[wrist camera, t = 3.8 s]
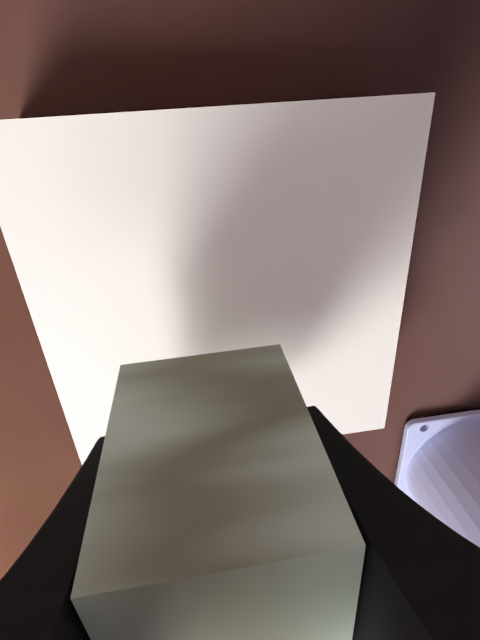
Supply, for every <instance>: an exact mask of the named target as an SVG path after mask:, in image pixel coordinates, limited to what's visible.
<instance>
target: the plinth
mask: <svg viewBox="0 0 480 640" xmlns="http://www.w3.org/2000/svg"><path fill="white" fill-rule="evenodd" d="M434 98H435V92H433V93H417V94H401V95H385V96H369V97H353V98H337V99H321V100H305V101H290V102H274V103H258V104H242V105H227V106H211V107H195V108H179V109H163V110H148V111H132V112H116V113H100V114H84V115H69V116H53V117H37V118H21V119H6V120H0V226H1V229H2V232H3V235H4V238H5V241H6V244H7V247H8V250H9V253H10V256H11V258H12V261H13V264H14V267H15V270H16V273H17V276H18V279H19V282H20V285H21V288H22V291H23V294H24V297H25V300H26V302H27V305H28V308H29V311H30V314H31V317H32V320H33V323H34V326H35V329H36V332H37V335H38V338H39V341H40V343H41V346H42V349H43V352H44V355H45V358H46V361H47V364H48V367H49V370H50V373H51V376H52V379H53V382H54V384H55V387H56V390H57V393H58V396H59V399H60V402H61V405H62V408H63V411H64V414H65V417H66V420H67V423H68V425H69V428H70V431H71V434H72V437H73V440H74V443H75V446H76V449H77V452H78V455H79V458H80V461H81V464H82V465H83V463H84V462H85V460H86V458H87V457H88V455H89V453H90V452H91V450H92V448H93V447H94V445H95V443H96V442H97V440H98V439H99V438H100V437H103V436H105V435H106V430H107V425H108V421H109V416H110V411H111V407H112V402H113V397H114V393H115V388H116V383H117V379H118V374H119V369H120V365H124V364H131V363H139V362H147V361H154V360H162V359H170V358H178V357H185V356H193V355H201V354H208V353H216V352H224V351H231V350H239V349H247V348H254V347H262V346H270V345H277V344H280V346H281V348H282V350H283V353H284V355H285V357H286V360H287V362H288V364H289V367H290V369H291V371H292V374H293V376H294V378H295V381H296V383H297V385H298V388H299V390H300V392H301V395H302V397H303V399H304V402H305V404H306V406H307V407H308V406H316V407H317V408H318V409H319V410H320V411H321V412H322V413H323V415H324V416H325V417H326V418H327V419H328V420H329V421H330V422H331V423H332V425H333V426H334V427H335V428H336V429H337V430H338V431H339V432H340V433H341V434H348V433H354V432H361V431H368V430H375V429H382V428H384V427H385V420H386V414H387V407H388V401H389V394H390V387H391V381H392V374H393V368H394V361H395V355H396V348H397V341H398V335H399V328H400V322H401V315H402V309H403V302H404V295H405V289H406V282H407V276H408V269H409V263H410V256H411V249H412V243H413V236H414V230H415V223H416V217H417V210H418V203H419V197H420V190H421V184H422V177H423V171H424V164H425V157H426V151H427V144H428V138H429V131H430V124H431V118H432V111H433V105H434Z"/></svg>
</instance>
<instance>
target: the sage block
mask: <svg viewBox="0 0 480 640" xmlns="http://www.w3.org/2000/svg"><path fill="white" fill-rule="evenodd" d="M365 548H366V545H365V542H364V540H363V538H362V535H361V533H360V531H359V528H358V526H357V524H356V521H355V519H354V517H353V514H352V512H351V510H350V507H349V505H348V503H347V500H346V498H345V496H344V493H343V491H342V489H341V486H340V484H339V481H338V479H337V477H336V474H335V472H334V470H333V467H332V465H331V463H330V460H329V458H328V456H327V453H326V451H325V449H324V446H323V444H322V442H321V439H320V437H319V435H318V432H317V430H316V428H315V425H314V423H313V421H312V418H311V416H310V414H309V411H308V409H307V406H306V404H305V402H304V399H303V397H302V395H301V392H300V390H299V388H298V385H297V383H296V381H295V378H294V376H293V374H292V371H291V369H290V367H289V364H288V362H287V360H286V357H285V355H284V353H283V350H282V348H281V346H280V344H277V345H270V346H262V347H254V348H247V349H239V350H231V351H224V352H216V353H208V354H201V355H193V356H185V357H178V358H170V359H162V360H154V361H147V362H139V363H131V364H124V365H120V369H119V374H118V379H117V383H116V388H115V393H114V397H113V402H112V407H111V411H110V416H109V421H108V425H107V430H106V435H105V439H104V444H103V449H102V453H101V458H100V463H99V467H98V472H97V477H96V481H95V486H94V491H93V495H92V500H91V505H90V509H89V514H88V518H87V523H86V528H85V532H84V537H83V542H82V546H81V551H80V556H79V560H78V565H77V570H76V574H75V579H74V584H73V588H72V593H71V598H70V599H71V601H72V603H73V605H74V607H75V609H76V611H77V613H78V615H79V617H80V619H81V621H82V623H83V625H84V627H85V629H86V631H87V633H88V635H89V637H90V639H91V640H352V637H353V630H354V624H355V617H356V610H357V603H358V596H359V589H360V582H361V576H362V569H363V562H364V555H365Z"/></svg>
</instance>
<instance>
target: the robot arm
mask: <svg viewBox="0 0 480 640" xmlns="http://www.w3.org/2000/svg"><path fill="white" fill-rule="evenodd" d="M307 409H308V411H309V414H310V416H311V418H312V421H313V423H314V425H315V428H316V430H317V432H318V435H319V437H320V439H321V442H322V444H323V446H324V449H325V451H326V453H327V456H328V458H329V460H330V463H331V465H332V467H333V470H334V472H335V474H336V477H337V479H338V481H339V484H340V486H341V489H342V491H343V493H344V496H345V498H346V500H347V503H348V505H349V507H350V510H351V512H352V514H353V517H354V519H355V521H356V524H357V526H358V528H359V531H360V533H361V535H362V538H363V540H364V542H365V545H366V548H365V555H364V562H363V569H362V576H361V582H360V589H359V596H358V603H357V610H356V617H355V624H354V630H353V637H352V640H480V409H479V410H472V411H465V412H458V413H451V414H444V415H437V416H430V417H423V418H416V419H412V420H410V421H408V422H407V423H406V425H405V429H404V434H403V439H402V445H401V450H400V456H399V461H398V467H397V472H396V478H395V483H394V484H393V483H392V482H391V481H390V480H389V479H388V478H387V477H385V476H384V475H383V474H382V473H381V472H380V471H379V470H378V469H377V468H375V467H374V466H373V465H372V464H371V463H370V462H369V461H368V460H367V459H366V458H365V457H364V456H363V455H362V454H361V453H360V452H359V451H358V450H357V449H356V448H355V447H354V446H353V445H352V444H351V443H350V442H349V441H348V440H347V439H346V438H345V437H344V436H343V435H342V434H341V433H340V432H339V431H338V430H337V429H336V428H335V427H334V426H333V425H332V423H331V422H330V421H329V420H328V419H327V418H326V417H325V416H324V415H323V413H322V412H321V411H320V410H319V409H318V408H317V407H316V406H308V407H307ZM104 439H105V436H103V437H100V438H99V439H98V440H97V442H96V443H95V445H94V447H93V448H92V450H91V452H90V453H89V455H88V457H87V458H86V460H85V462H84V463H83V465H82V467H81V468H80V470H79V472H78V473H77V475H76V476H75V478H74V480H73V481H72V483H71V484H70V486H69V487H68V489H67V490H66V492H65V493H64V495H63V496H62V498H61V499H60V501H59V502H58V504H57V506H56V507H55V509H54V510H53V511H52V513H51V514H50V516H49V517H48V519H47V520H46V521H45V523H44V524H43V525H42V527H41V528H40V530H39V531H38V532H37V534H36V535H35V537H34V538H33V539H32V541H31V542H30V543H29V545H28V546H27V547H26V549H25V550H24V551H23V553H22V554H21V555H20V557H19V558H18V559H17V560H16V562H15V563H14V564H13V566H12V567H11V568H10V569H9V571H8V572H7V573H6V574H5V575H4V577H3V578H2V579H1V580H0V640H91V639H90V637H89V635H88V633H87V631H86V629H85V627H84V625H83V623H82V621H81V619H80V617H79V615H78V613H77V611H76V609H75V607H74V605H73V603H72V601H71V599H70V598H71V593H72V588H73V584H74V579H75V574H76V570H77V565H78V560H79V556H80V551H81V546H82V542H83V537H84V532H85V528H86V523H87V518H88V514H89V509H90V505H91V500H92V495H93V491H94V486H95V481H96V477H97V472H98V467H99V463H100V458H101V453H102V449H103V444H104Z"/></svg>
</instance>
